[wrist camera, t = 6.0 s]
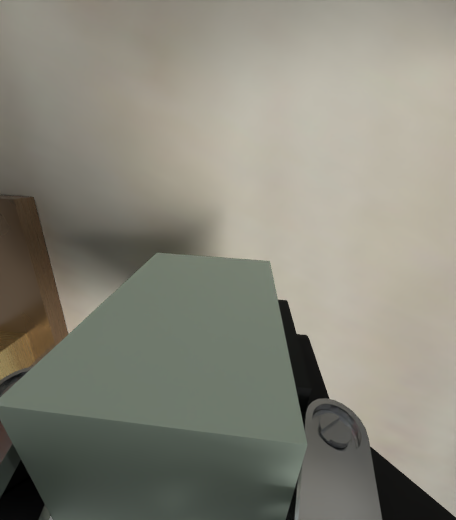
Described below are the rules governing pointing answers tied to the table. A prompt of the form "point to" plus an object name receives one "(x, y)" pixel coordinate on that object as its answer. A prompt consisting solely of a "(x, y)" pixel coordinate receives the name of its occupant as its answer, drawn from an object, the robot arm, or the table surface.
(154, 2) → the table surface
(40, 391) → the sage block
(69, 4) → the table surface
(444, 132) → the table surface
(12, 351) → the balance
